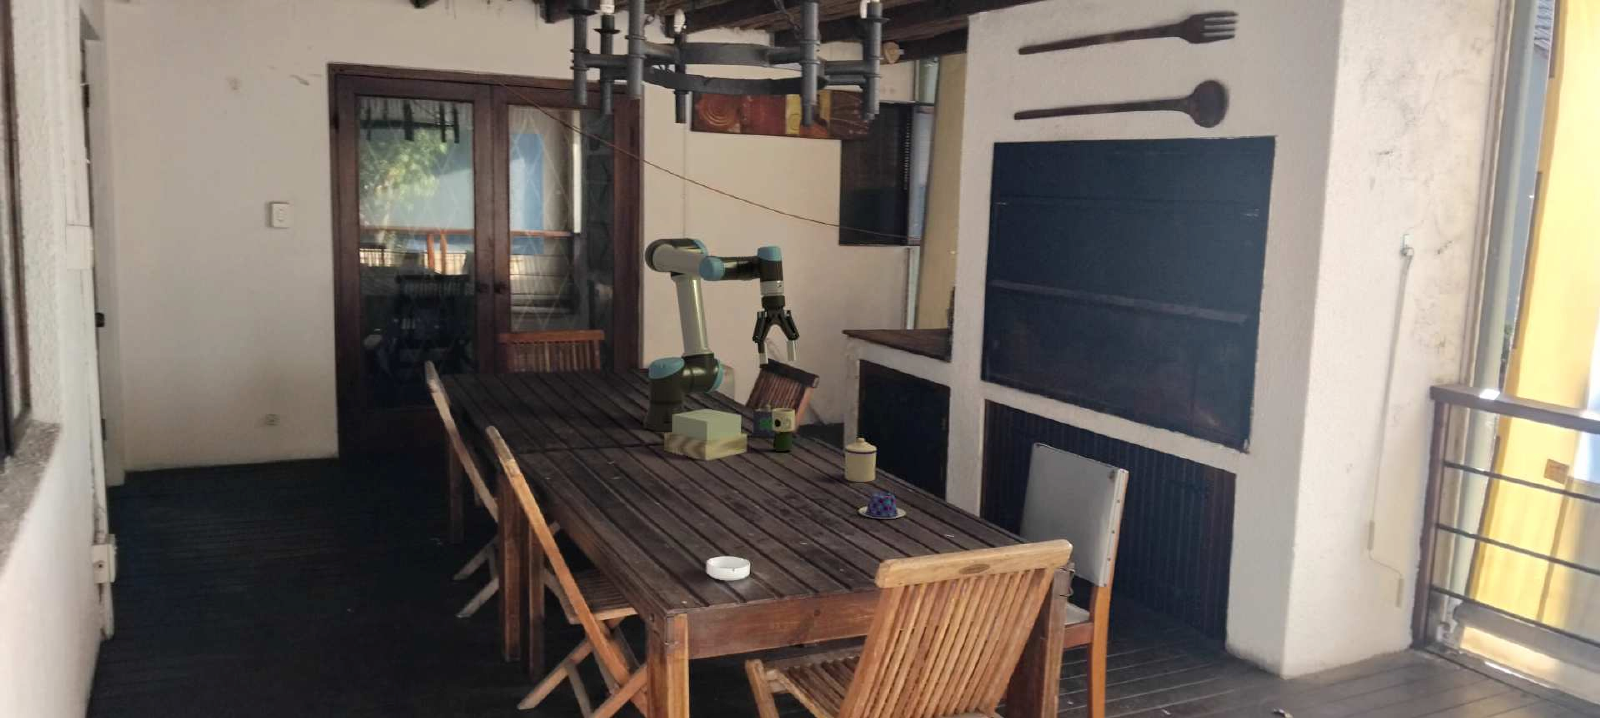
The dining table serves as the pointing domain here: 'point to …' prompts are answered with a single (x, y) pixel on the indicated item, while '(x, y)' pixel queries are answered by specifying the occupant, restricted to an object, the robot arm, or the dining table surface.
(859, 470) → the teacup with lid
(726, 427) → the tower top
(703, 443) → the tower base
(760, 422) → the flask
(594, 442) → the dining table surface
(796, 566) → the dining table surface
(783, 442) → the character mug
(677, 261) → the robot arm
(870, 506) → the pudding
